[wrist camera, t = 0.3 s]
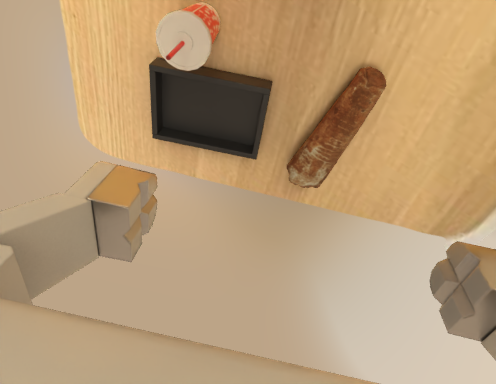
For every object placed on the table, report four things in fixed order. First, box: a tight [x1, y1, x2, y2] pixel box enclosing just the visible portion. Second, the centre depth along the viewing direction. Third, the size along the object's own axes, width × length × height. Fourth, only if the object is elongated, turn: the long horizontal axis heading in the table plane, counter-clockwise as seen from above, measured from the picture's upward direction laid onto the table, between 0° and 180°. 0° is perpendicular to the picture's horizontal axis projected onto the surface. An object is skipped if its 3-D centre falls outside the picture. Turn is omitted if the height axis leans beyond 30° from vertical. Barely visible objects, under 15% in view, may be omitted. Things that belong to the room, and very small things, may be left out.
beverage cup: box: [156, 2, 221, 71], centre depth 37 cm, size 6×6×14 cm
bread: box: [287, 67, 386, 188], centre depth 47 cm, size 6×19×6 cm, turn 154°
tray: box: [149, 57, 272, 159], centre depth 49 cm, size 12×17×3 cm
